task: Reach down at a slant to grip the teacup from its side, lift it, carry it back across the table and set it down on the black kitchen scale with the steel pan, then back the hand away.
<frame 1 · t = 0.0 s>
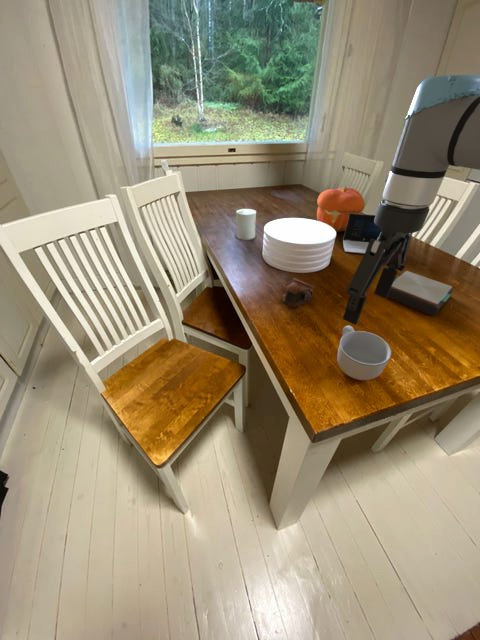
hand: (366, 307, 58), 17 cm above the table, tool pointing down, fingers open, 13 cm apart
teacup: (353, 364, 68), on the table
pottery mug: (298, 302, 89), on the table
laptop: (364, 249, 121), on the table
pumpkin: (335, 229, 140), on the table
can: (245, 236, 131), on the table
plate stack: (295, 256, 115), on the table
scale: (415, 295, 92), on the table
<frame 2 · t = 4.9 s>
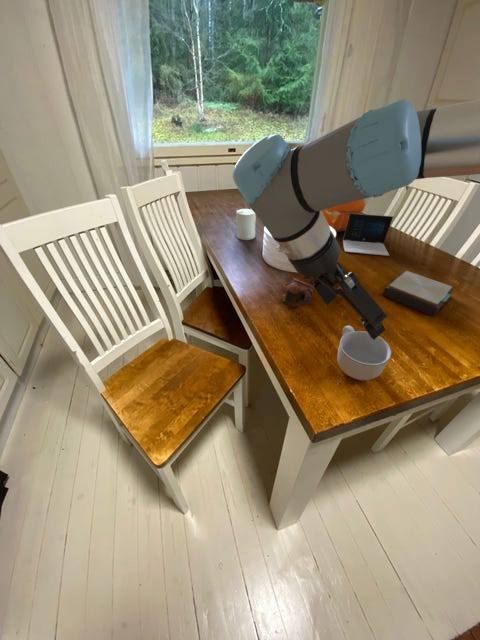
hand: (352, 315, 55), 17 cm above the table, tool tilted 40°, fingers open, 13 cm apart
nothing on the table moved.
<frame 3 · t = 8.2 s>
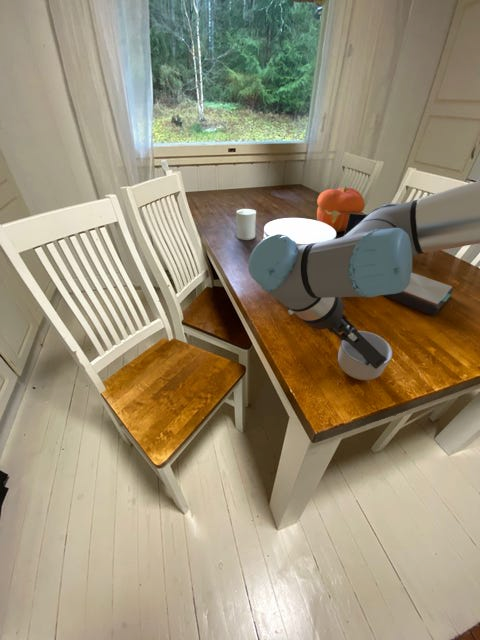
hand: (356, 342, 62), 8 cm above the table, tool tilted 45°, fingers open, 13 cm apart
teacup: (353, 364, 68), on the table, touching gripper
everything else where it was.
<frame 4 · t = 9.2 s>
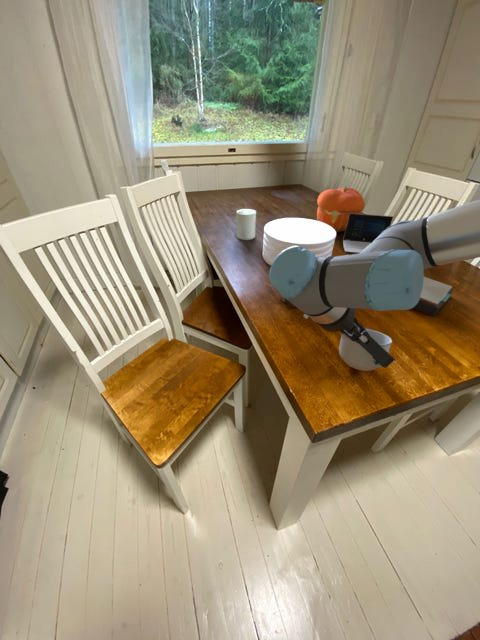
hand: (364, 341, 65), 6 cm above the table, tool tilted 45°, fingers closed on teacup, 13 cm apart
teacup: (355, 362, 67), point 1 cm above the table, touching gripper
everything else where it was.
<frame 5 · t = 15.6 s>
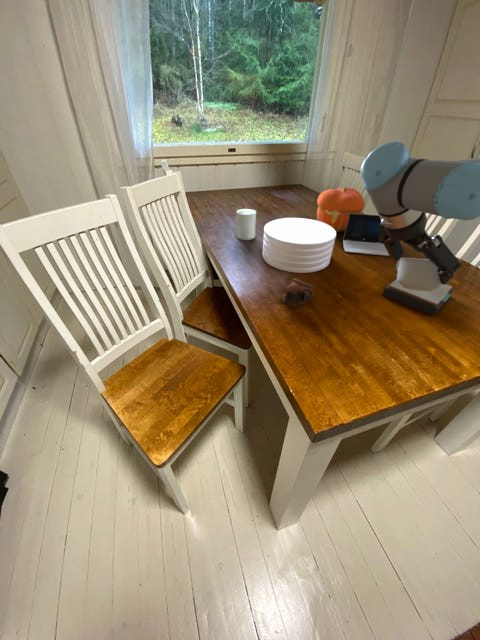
hand: (421, 267, 70), 18 cm above the table, tool tilted 45°, fingers closed on teacup, 13 cm apart
teacup: (412, 289, 72), point 12 cm above the table, touching gripper
everything else where it was.
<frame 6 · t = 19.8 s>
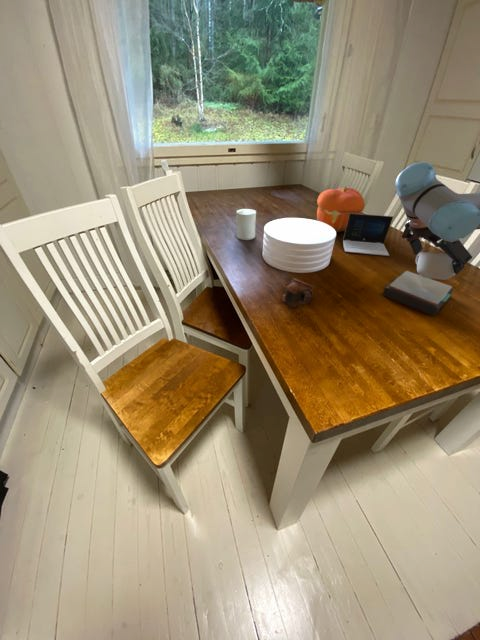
hand: (437, 260, 85), 13 cm above the table, tool tilted 45°, fingers closed on teacup, 13 cm apart
teacup: (429, 278, 86), point 7 cm above the table, touching gripper
everything else where it was.
when the fingers open (10 cm above the table, at t = 22.4 s): teacup moves 2 cm, resting on scale.
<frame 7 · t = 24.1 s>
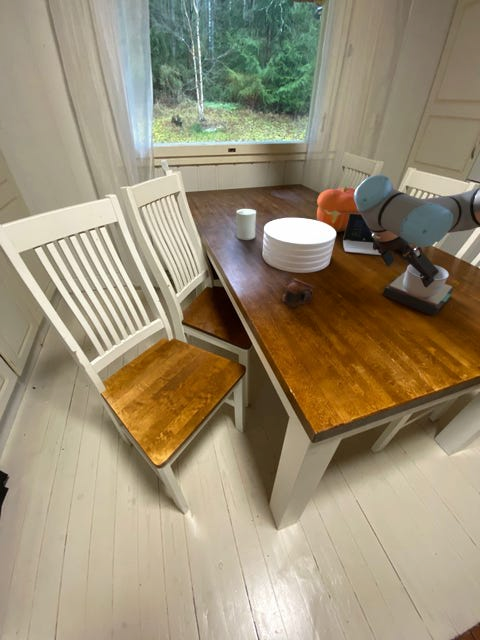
hand: (409, 272, 82), 11 cm above the table, tool tilted 45°, fingers open, 13 cm apart
teacup: (417, 290, 87), point 4 cm above the table, touching scale
everything else where it was.
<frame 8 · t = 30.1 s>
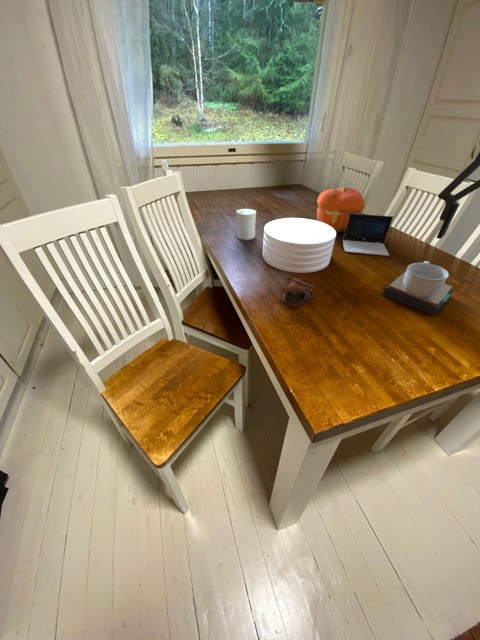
hand: (478, 246, 54), 29 cm above the table, tool pointing down, fingers open, 13 cm apart
nothing on the table moved.
at the end: teacup inside the target area on the scale (3.6 cm from its centre), point 3.8 cm above the scale's base; teacup tilted 0°; the gripper is holding nothing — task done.
